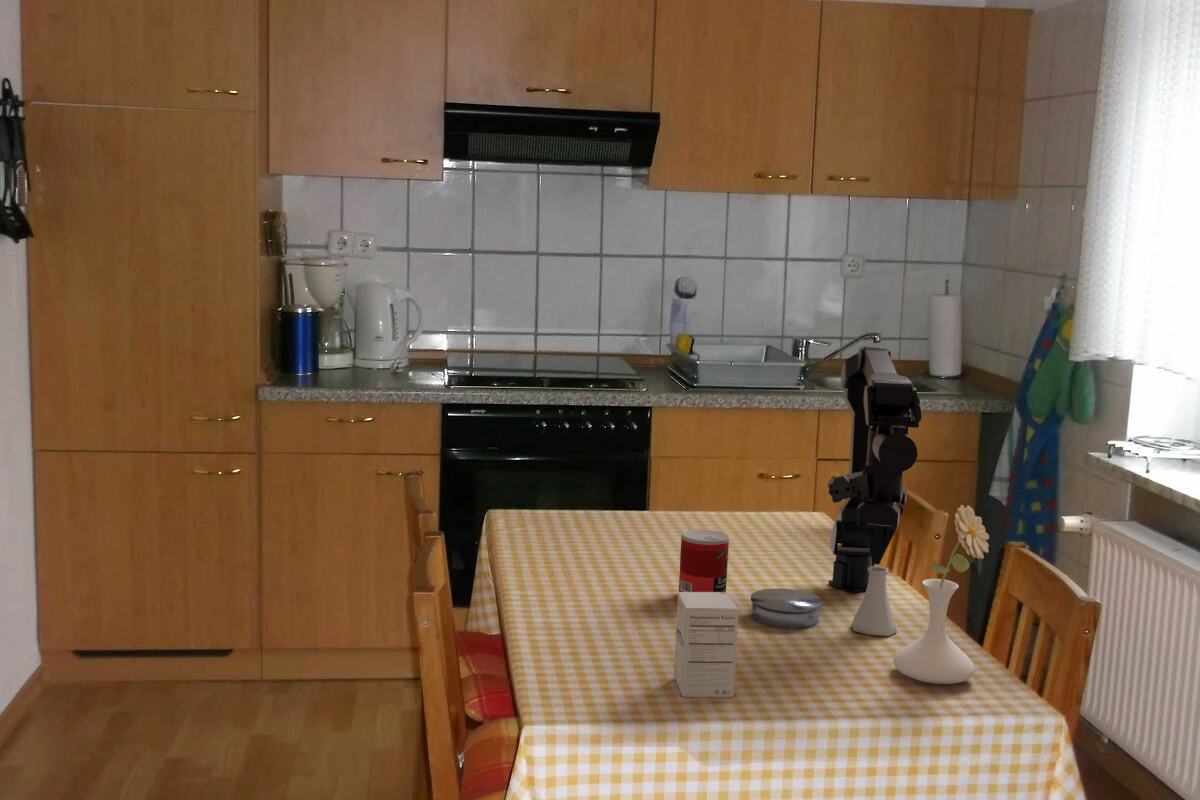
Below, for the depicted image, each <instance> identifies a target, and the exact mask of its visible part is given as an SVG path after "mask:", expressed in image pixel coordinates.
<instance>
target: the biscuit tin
mask: <svg viewBox="0 0 1200 800" xmlns="http://www.w3.org/2000/svg"><path fill="white" fill-rule="evenodd" d="M750 602H751V618H752V620H754V621H755V622H756V623H758V624H760V625H762V626H766V627H770V628H774V629H775V628H776V629H781V630H782V629H783V630H804V629H809V628H812V627H813V628H814V627H815V626H817V625H818V624H819V623H820V608H821V607H822V606H823V600H822V599H821V598H820V597H819V596H817V595H816V594H814V593H810V592H808V591H805V590H804V591H803V590H799V589H792V588H780V587H779V588H763V589H759V590H756V591H754V592H752V593H751V594H750Z"/></svg>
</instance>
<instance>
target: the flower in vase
mask: <svg viewBox="0 0 1200 800" xmlns="http://www.w3.org/2000/svg"><path fill="white" fill-rule="evenodd" d="M959 506H960V507H958V508H957V511H956V512H955V514H954V516H955V519H954V525H955V530H956V533H957V534H958V535H957V539H958V540H957V542H956V544H955V545H954V547H953V549H952V552H951V554H950V557H949V560H948V562H947V565H946V567H944V566H942V565H940V564H939V563H937V562H936V561H935V562H934V563H933V565H932V566H931V568H930V571H933V572H935V573H939V574H943V575H942V578H928V579H924V580H922V581H921V582H922V583H921V584H922V585H923V587H924V588H925V590H926V593H927V596H928V601H929V602H928V603H929V622H928V627H927V630H926V632H925V633H924V634H923V635H922V636H920V637H919V638H918V639H915V640H914V641H912V642H911V643H909V644H907V645H905V646H904V647H902V648H901V649H900V650H899V651H898V652H897V653H896V654H895V655H894V658H893V660H892V663H893V665H894V667H895V669H896V670H897V671H898V672H899V673H901V674H902V675H904V676H906V677H908V678H909V679H912V680H916V681H919V682H922V683H928V684H934V685H935V684H936V685H937V684H938V685H952V684H953V685H954V684H958V683H964V682H966V681H969V680H970V679H971V678H972V677H973V676H974V675H975V673H976V668H975V665H974V663H973V662H972V660H971V659H970V658H969V657H968V655H967V654H966V653H965V652H964V651H963V650H962V649H960V647H958V646H957V645H956V644H955V643H954V642H953V641H952V640H951V639H950V638H949V636H948V634H947V632H946V631H947V630H946V629H947V628H946V619H947V613H948V607H949V604H950V600H951V598H952V596H953V595H954V593H955V592H956V590H957V589H959V584H958V583H957V582H954V581H951V580H949V579H946V576H947V574H948V573H949V572H950V571H951V569H950V566H951V565H952V566H953V568H954V569H955V570H956V571H957V572H958V573H965V572H966V571H967V570H968V569H969V568H970V562H969V561H968V559H967V558H966V557H964V556H963V555H961V554H957V553H956V551H957V549H958V547H959V545H960V544H961V546H962V547H963V549H964V550H965V552H966V553H967V555H969V556H970V555H971V556H972V557H973V558H974V559H976V558H977V559H979V560H982V559H984V558H985V556H984V553H986V554H988V553H989V543H988V541H987V540H989V538H990V534H988V533H987V532H986V528H985V526H984V525H983V524H982V523H983V520H982V517H981V516H977V515H976V514H975V510H974V508H973V507H971V506H970V505H967V506H966V507H965V505H963V504H961V505H959ZM955 553H956V554H955Z"/></svg>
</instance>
